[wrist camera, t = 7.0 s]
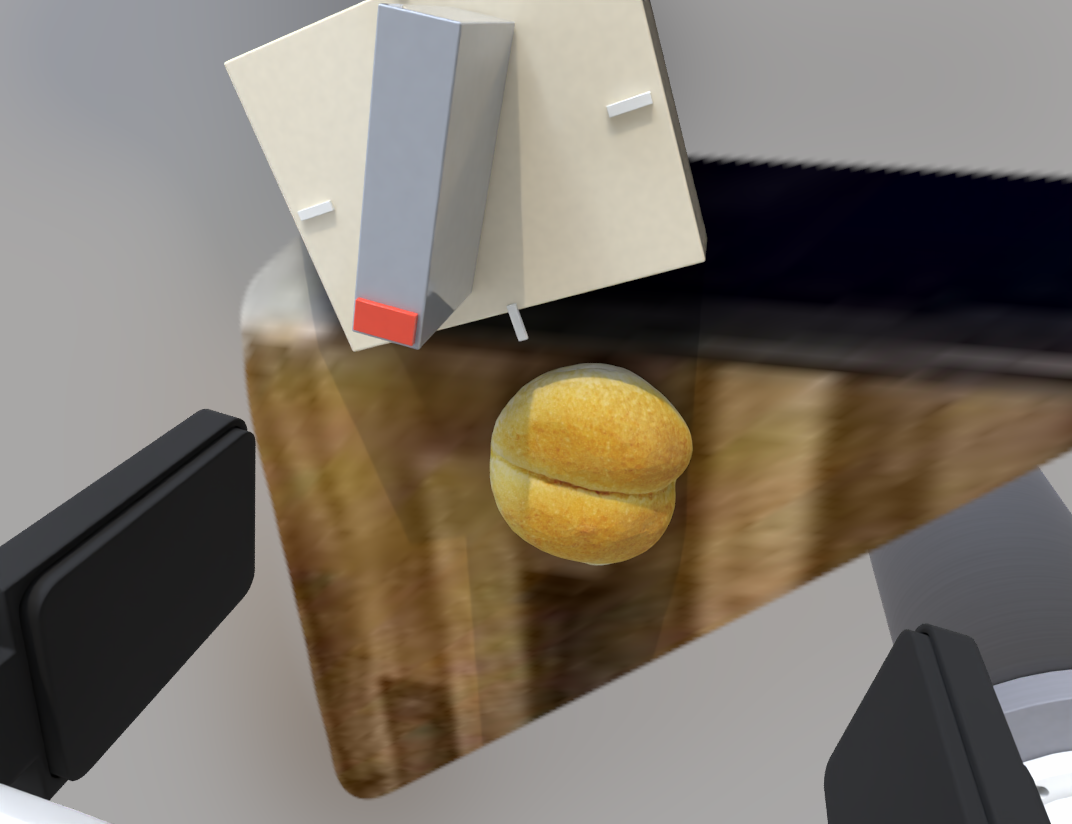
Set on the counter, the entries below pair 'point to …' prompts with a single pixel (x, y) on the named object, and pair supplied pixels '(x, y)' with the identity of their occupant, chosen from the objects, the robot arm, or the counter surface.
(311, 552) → the counter surface
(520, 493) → the bread roll
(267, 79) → the cream flat tabbed slab
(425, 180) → the grey rectangular block
